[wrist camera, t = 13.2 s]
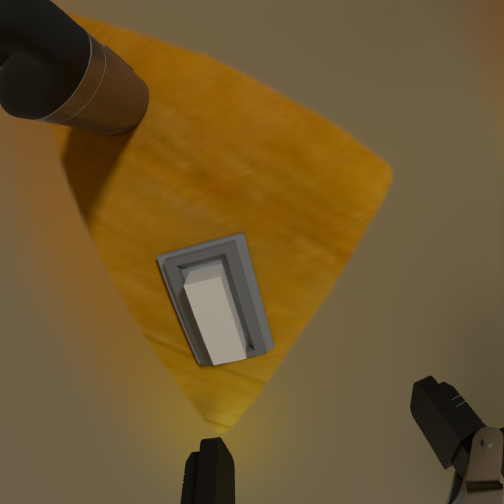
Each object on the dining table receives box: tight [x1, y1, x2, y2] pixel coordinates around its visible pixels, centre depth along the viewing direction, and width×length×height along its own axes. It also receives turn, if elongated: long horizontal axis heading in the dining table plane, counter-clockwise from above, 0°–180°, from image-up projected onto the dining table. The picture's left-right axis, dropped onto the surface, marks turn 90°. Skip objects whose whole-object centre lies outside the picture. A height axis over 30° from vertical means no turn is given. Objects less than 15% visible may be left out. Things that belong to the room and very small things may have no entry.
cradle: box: [157, 232, 274, 366], centre depth 39 cm, size 12×18×2 cm, turn 14°
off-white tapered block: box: [184, 263, 246, 365], centre depth 37 cm, size 4×12×5 cm, turn 14°
